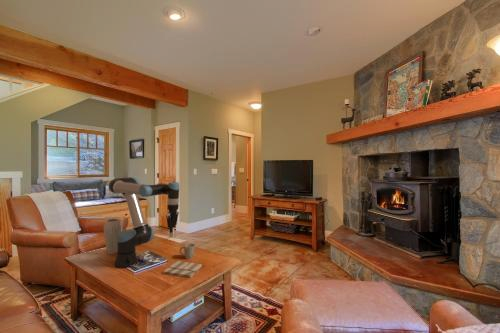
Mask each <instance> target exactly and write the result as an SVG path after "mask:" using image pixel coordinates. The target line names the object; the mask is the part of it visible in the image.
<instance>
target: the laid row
mask: <svg viewBox="0 0 500 333" xmlns="http://www.w3.org/2000/svg"><path fill="white" fill-rule="evenodd" d="M162 273H163V275H169V276H176V277H181V278H182V277H183V278H189V279H191V278H192V277H193V276H194V275H195V274H196V273H195V272H193V271H187V270H180V269H173V268H169V267H167V268H166V269H164V270H163V272H162Z"/></svg>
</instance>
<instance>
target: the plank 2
mask: <svg viewBox="0 0 500 333" xmlns="http://www.w3.org/2000/svg"><path fill="white" fill-rule="evenodd" d="M202 265H203V264H201V263H195V262H188V265H187V266H185V267H184V268H183V270H187V271H193V272H195V274H196V273H198V272H199V270H200V269H201V268H202Z"/></svg>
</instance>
